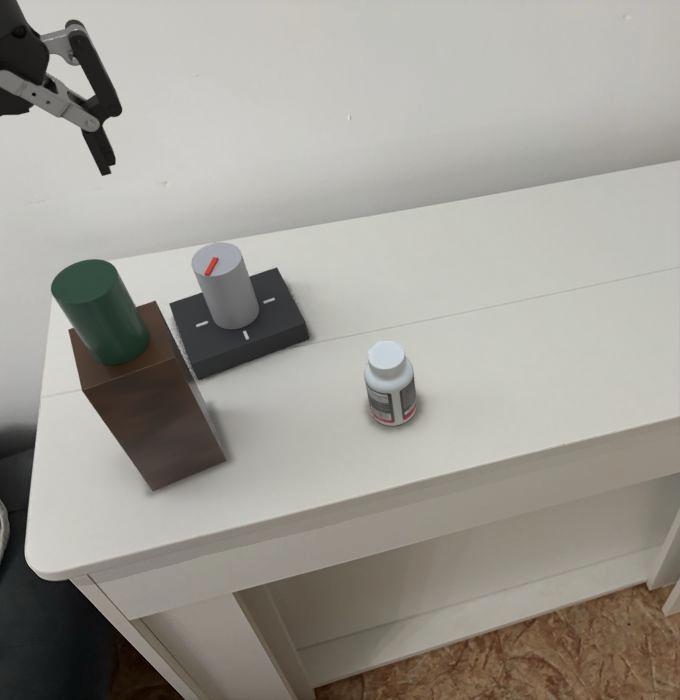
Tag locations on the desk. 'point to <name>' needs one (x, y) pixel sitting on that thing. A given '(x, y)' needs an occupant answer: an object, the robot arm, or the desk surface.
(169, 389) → the stand
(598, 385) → the desk surface
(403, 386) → the pill bottle
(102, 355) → the tea tin
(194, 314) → the dark grey panel
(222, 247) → the grey round cylinder
